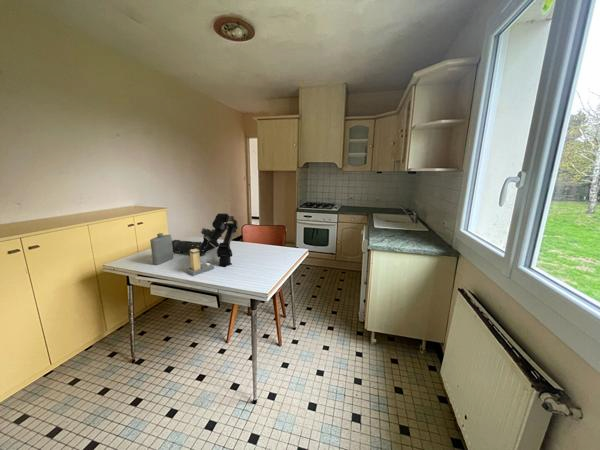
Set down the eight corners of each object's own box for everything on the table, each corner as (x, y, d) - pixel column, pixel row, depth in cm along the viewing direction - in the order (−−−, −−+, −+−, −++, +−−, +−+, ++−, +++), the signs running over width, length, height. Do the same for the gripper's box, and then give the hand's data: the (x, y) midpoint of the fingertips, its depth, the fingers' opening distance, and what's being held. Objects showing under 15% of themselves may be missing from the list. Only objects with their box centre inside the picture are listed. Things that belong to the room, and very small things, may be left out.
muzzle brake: (201, 257, 169) (200, 244, 167) (168, 254, 175) (166, 241, 173) (208, 253, 178) (207, 240, 176) (177, 250, 184) (175, 238, 182)
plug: (197, 269, 147) (196, 248, 144) (201, 271, 144) (199, 250, 141) (191, 271, 144) (189, 250, 141) (194, 273, 141) (192, 251, 138)
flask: (168, 257, 168) (166, 230, 164) (175, 258, 167) (172, 231, 163) (150, 264, 154) (146, 235, 150) (157, 265, 153) (153, 236, 149)
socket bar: (207, 265, 154) (206, 261, 154) (214, 268, 150) (213, 264, 149) (186, 272, 143) (186, 267, 143) (193, 275, 139) (192, 271, 138)
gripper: (205, 220, 150) (188, 239, 147) (212, 226, 135) (193, 247, 131) (218, 231, 156) (202, 249, 153) (226, 237, 141) (208, 257, 137)
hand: (201, 250), depth 143 cm, fingers open, 9 cm apart
